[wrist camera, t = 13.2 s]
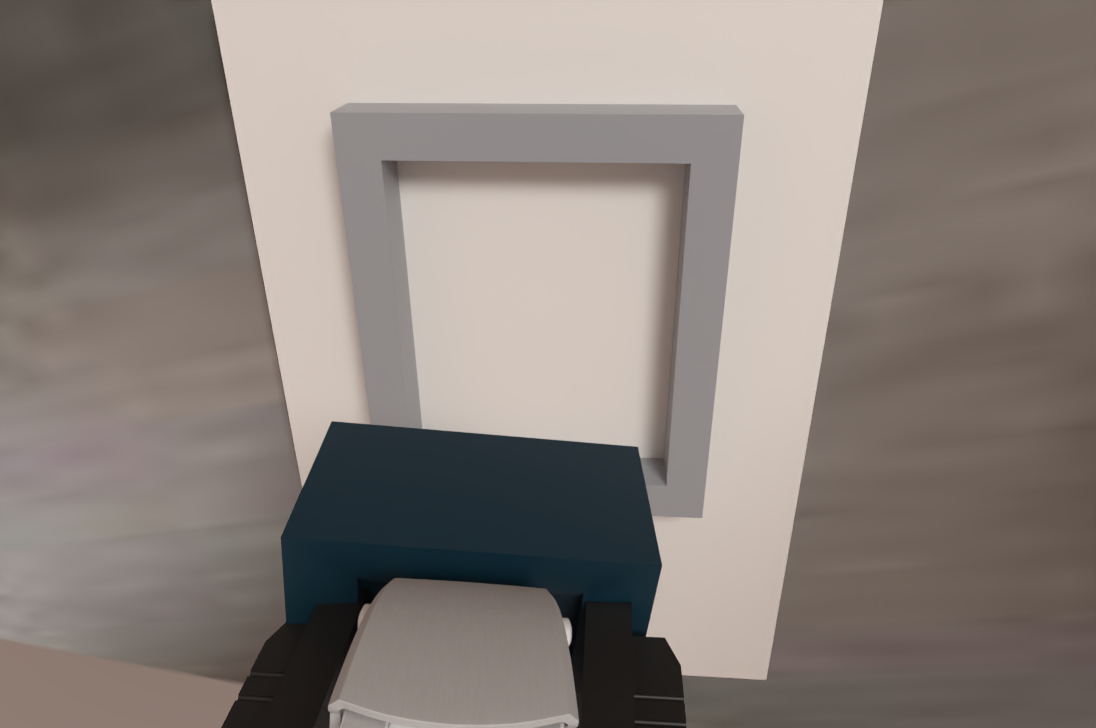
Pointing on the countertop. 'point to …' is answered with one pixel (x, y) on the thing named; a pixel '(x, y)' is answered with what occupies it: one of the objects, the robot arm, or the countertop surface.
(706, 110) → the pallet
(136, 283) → the countertop surface
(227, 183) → the countertop surface
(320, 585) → the watch
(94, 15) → the countertop surface
